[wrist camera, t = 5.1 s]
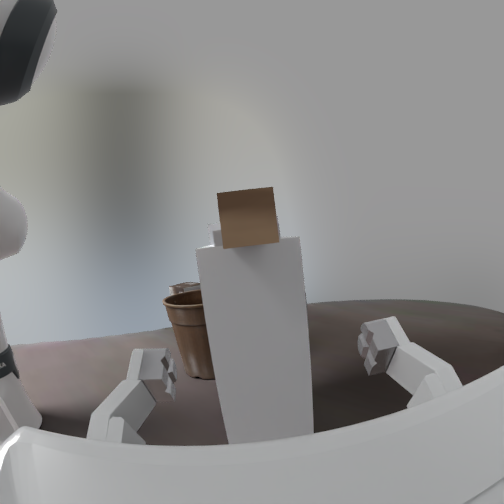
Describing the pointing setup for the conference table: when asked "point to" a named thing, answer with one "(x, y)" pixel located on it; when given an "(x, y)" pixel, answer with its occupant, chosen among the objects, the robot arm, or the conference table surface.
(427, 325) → the conference table surface
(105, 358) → the conference table surface
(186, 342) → the plant pot
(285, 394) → the switch console stand
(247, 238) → the lever bar
